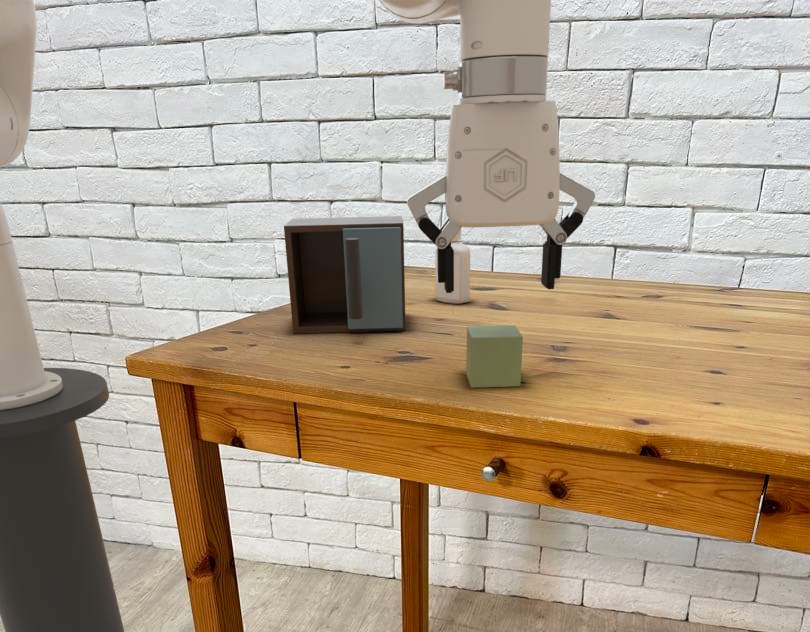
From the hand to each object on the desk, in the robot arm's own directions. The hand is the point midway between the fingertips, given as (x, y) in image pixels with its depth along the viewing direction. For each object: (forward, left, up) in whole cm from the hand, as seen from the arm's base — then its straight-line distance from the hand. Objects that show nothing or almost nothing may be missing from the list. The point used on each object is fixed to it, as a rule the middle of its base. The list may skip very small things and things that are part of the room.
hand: (498, 288), depth 75 cm
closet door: (-7, +22, -8) cm, 25 cm away
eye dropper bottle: (+10, +41, -9) cm, 43 cm away
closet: (-8, +31, -9) cm, 33 cm away
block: (0, 0, -9) cm, 9 cm away
